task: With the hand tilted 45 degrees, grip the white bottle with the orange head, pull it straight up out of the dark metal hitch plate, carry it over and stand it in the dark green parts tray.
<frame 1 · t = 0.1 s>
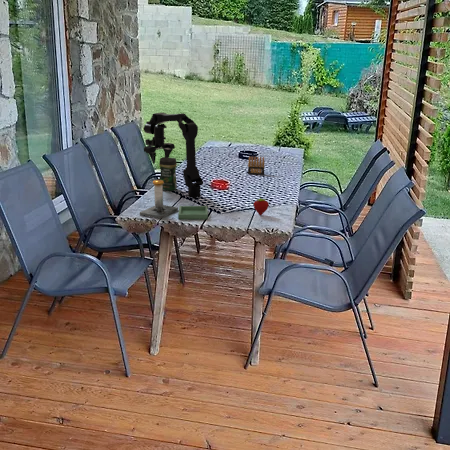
hand: (159, 162, 304), 15 cm above the table, tool pointing down, fingers open, 9 cm apart
ammunition clip: (256, 174, 343), on the table
parts tray: (193, 215, 260), on the table
coffee jar: (168, 189, 305), on the table
hitch plate: (159, 212, 263), on the table
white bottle: (158, 197, 260), in the hitch plate
strawberry: (260, 215, 261), on the table
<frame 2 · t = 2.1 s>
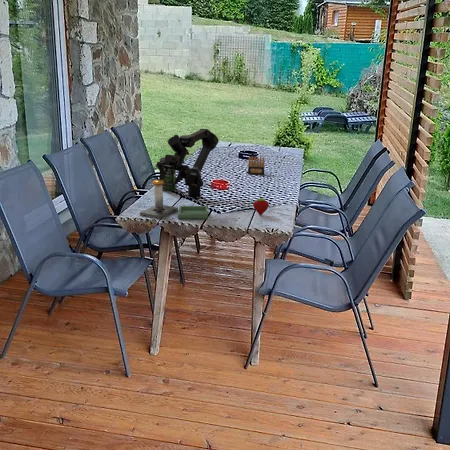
hand: (167, 182, 266), 13 cm above the table, tool tilted 45°, fingers open, 9 cm apart
nothing on the table moved.
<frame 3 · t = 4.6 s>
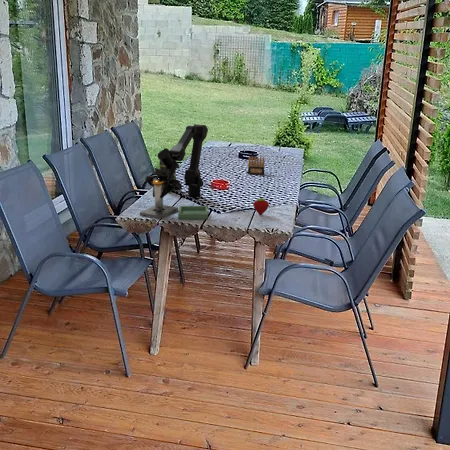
hand: (157, 197, 259), 8 cm above the table, tool tilted 45°, fingers closed on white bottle, 4 cm apart
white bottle: (158, 197, 260), in the hitch plate, touching gripper
everything else where it was.
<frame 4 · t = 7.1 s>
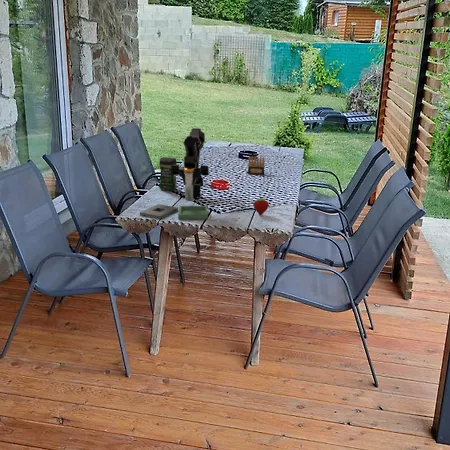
hand: (188, 184, 263), 13 cm above the table, tool tilted 45°, fingers closed on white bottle, 4 cm apart
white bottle: (189, 184, 264), point 13 cm above the table, touching gripper
everything else where it was.
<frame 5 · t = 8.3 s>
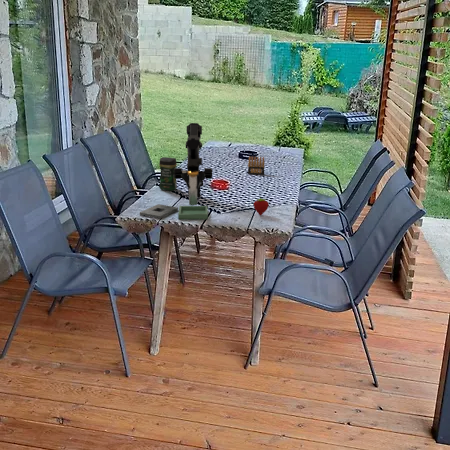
hand: (193, 188, 255), 14 cm above the table, tool tilted 45°, fingers closed on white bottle, 4 cm apart
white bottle: (193, 188, 256), point 14 cm above the table, touching gripper
everything else where it was.
when the fingers open (10 cm above the table, at t = 9.5 s): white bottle stays where it is, resting on parts tray.
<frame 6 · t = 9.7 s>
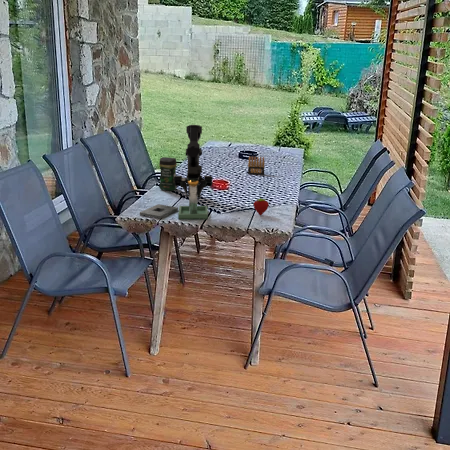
hand: (193, 196, 255), 10 cm above the table, tool tilted 45°, fingers open, 5 cm apart
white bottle: (193, 197, 257), in the parts tray, point 9 cm above the table, touching gripper
everything else where it was.
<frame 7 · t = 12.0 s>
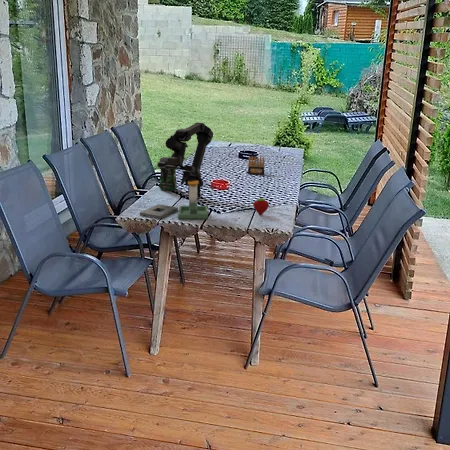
hand: (173, 183, 268), 12 cm above the table, tool tilted 25°, fingers open, 9 cm apart
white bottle: (193, 197, 257), in the parts tray, point 9 cm above the table
everything else where it was.
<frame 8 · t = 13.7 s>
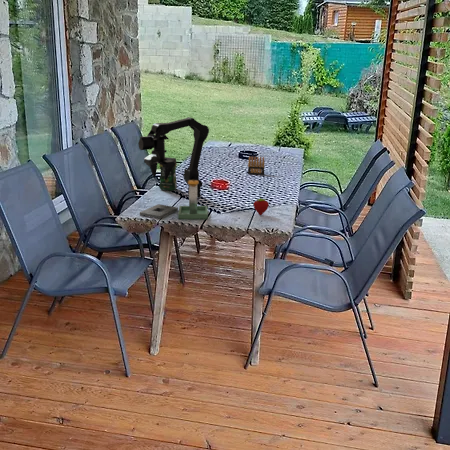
hand: (160, 178, 276), 13 cm above the table, tool pointing down, fingers open, 9 cm apart
nothing on the table moved.
at the end: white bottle 0.2 cm from the parts tray (horizontally); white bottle tilted 0°; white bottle point 8.9 cm above the table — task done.
